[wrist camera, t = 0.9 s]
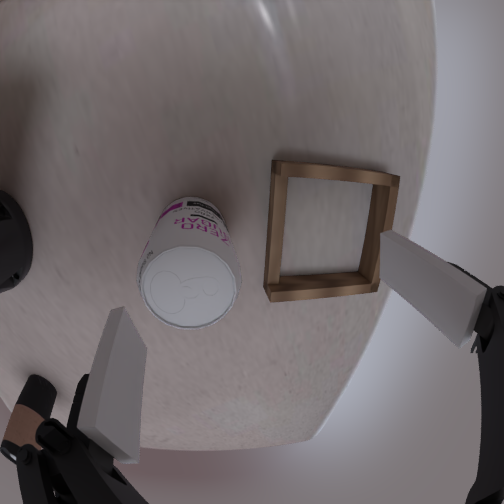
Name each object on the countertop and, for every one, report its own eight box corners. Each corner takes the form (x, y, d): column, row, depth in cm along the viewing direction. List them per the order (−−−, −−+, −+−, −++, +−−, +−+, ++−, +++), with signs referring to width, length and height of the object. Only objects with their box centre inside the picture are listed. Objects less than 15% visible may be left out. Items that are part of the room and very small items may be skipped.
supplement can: (165, 264, 34) (150, 341, 20) (153, 201, 31) (120, 246, 17) (227, 254, 35) (248, 327, 21) (220, 191, 32) (238, 228, 18)
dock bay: (263, 286, 38) (270, 302, 34) (271, 160, 31) (281, 162, 28) (363, 279, 41) (377, 291, 37) (382, 171, 35) (400, 176, 31)
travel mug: (56, 402, 40) (36, 475, 22) (27, 385, 37) (1, 455, 19) (59, 386, 39) (35, 467, 21) (28, 367, 36) (-4, 444, 18)
